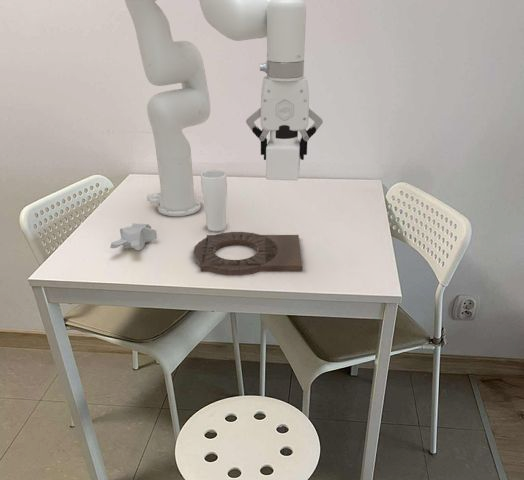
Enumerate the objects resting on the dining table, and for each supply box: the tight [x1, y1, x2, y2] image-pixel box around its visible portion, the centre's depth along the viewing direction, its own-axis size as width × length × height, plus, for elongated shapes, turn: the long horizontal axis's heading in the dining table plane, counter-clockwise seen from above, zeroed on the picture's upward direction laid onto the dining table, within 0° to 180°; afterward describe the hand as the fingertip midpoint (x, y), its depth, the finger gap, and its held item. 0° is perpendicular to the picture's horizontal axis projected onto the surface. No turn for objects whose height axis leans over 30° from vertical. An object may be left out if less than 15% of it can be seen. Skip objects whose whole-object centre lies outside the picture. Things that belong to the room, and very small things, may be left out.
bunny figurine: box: [109, 222, 157, 251], centre depth 137 cm, size 10×5×15 cm
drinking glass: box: [200, 169, 228, 232], centre depth 142 cm, size 7×7×15 cm
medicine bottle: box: [265, 125, 301, 181], centre depth 118 cm, size 7×7×12 cm
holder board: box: [192, 231, 303, 276], centre depth 134 cm, size 26×21×2 cm
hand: (283, 157), depth 120 cm, fingers closed on medicine bottle, 7 cm apart
